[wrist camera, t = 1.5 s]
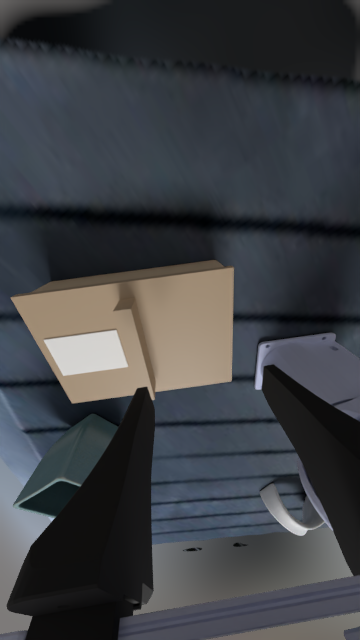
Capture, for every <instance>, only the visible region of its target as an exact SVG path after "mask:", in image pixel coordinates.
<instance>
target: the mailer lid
mask: <svg viewBox="0 0 360 640" xmlns="http://www.w3.org/2000/svg"><path fill="white" fill-rule="evenodd" d="M233 287H234V267H232V266H226V267H218V268H211V269H203V270H196V271H188V272H181V273H174V274H166V275H159V276H151V277H144V278H136V279H129V280H121V281H114V282H107V283H99V284H92V285H84V286H77V287H69V288H62V289H55V290H47V291H40V292H32V293H25V294H17V295H15V296H13V297H11V299H12V301H13V303H14V304H15V306H16V308H17V310H18V311H19V313H20V315H21V316H22V318H23V320H24V322H25V323H26V325H27V327H28V328H29V330H30V332H31V334H32V335H33V337H34V339H35V340H36V342H37V344H38V346H39V347H40V349H41V351H42V353H43V354H44V356H45V358H46V359H47V361H48V363H49V365H50V366H51V368H52V370H53V371H54V373H55V375H56V377H57V378H58V380H59V382H60V383H61V385H62V387H63V389H64V390H65V392H66V394H67V396H68V397H69V399H70V401H71V402H72V404H73V403H80V402H87V401H94V400H101V399H108V398H116V397H123V396H130V395H134V394H135V391H136V389H137V388H141V387H148V390H149V393H150V396H151V399H152V400H154V399H155V392H159V391H166V390H173V389H180V388H187V387H194V386H202V385H209V384H216V383H223V382H230V381H232V337H233Z"/></svg>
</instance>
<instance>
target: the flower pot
mask: <svg viewBox="0 0 360 640" xmlns="http://www.w3.org/2000/svg"><path fill="white" fill-rule="evenodd" d="M117 429H118V426H116V425H114V424H112V423H110V422H109V421H107V420H105V419H103V418H101V417H100V416H98V415H96V414H90V415H89V416H87V417H86V418H85V419H83V420H82V421H80V422H79V423H77V424H76V425H75V426H73V427H72V428H71V429H70V430H68V431H67V432H66V433H65V434H64V435H63V436H62V437H61V438H60V439H59V440H58V441H57V442H56V443H55V444H54V445H53V446H52V447H51V448H50V449H49V451H48V452H47V453H46V454H45V456H44V457H43V459H42V460H41V462H40V463H39V465H38V466H37V468H36V469H35V471H34V472H33V474H32V476H31V477H30V479H29V480H28V482H27V483H26V485H25V487H24V489H23V490H22V491H21V493H20V495H19V496H18V498H17V500H16V501H15V503H14V504H13V507H14V508H17V509H21V510H24V511H28V512H32V513H37V514H40V515H45V516H49V517H53V518H56V516H57V515H58V514H59V513H60V512H61V510H62V509H63V508H64V507H65V505H66V504H67V503H68V501H69V500H70V499H71V498H72V496H73V495H74V494H75V493H76V491H77V490H78V489H79V487H80V486H81V485H82V483H83V482H84V481H85V479H86V478H87V477H88V475H89V474H90V472H91V471H92V469H93V468H94V466H95V465H96V464H97V462H98V461H99V459H100V457H101V456H102V454H103V453H104V451H105V450H106V448H107V446H108V445H109V443H110V441H111V440H112V438H113V436H114V434H115V432H116V431H117Z"/></svg>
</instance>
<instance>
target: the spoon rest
mask: <svg viewBox="0 0 360 640" xmlns="http://www.w3.org/2000/svg"><path fill="white" fill-rule="evenodd" d="M260 495H261V497H262V499H263V502H264V503H265V505H266V507H267V508H268V510H269V511H270V512H271V514H272V515H273V516H274V517H275V518H276V520H277V521H278V522H279V523H280V524H281V525H283V526H284V527H285V528H286V529H288V530H289V531H291V532H292V533H294V534H296V535H300V536H302V535H305V534H306V532H307V530H312V529H315V528H317V527H319V526H320V525H322V524H323V523H325V521H324V520H323V519H322V518H321V516H320V515H319V514H318V512H317V511H316V509H315V508H314V506H313V505H312V503H311V501H310V500H309V498H308V496H306V497H305V501H304V504H303V523H302V522H300V521H298V520H297V519H295V518H294V517H293V516H292V515H291V514H290V513H289V512H288V510H287V509H286V508H285V506H284V504H283V502H282V500H281V498H280V496H279V494H278V492H277V489H276V487H275V485H274V484H273V483H271V484H269V485H268V486H267V487H265V488H264V489H263V490H261V492H260Z"/></svg>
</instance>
